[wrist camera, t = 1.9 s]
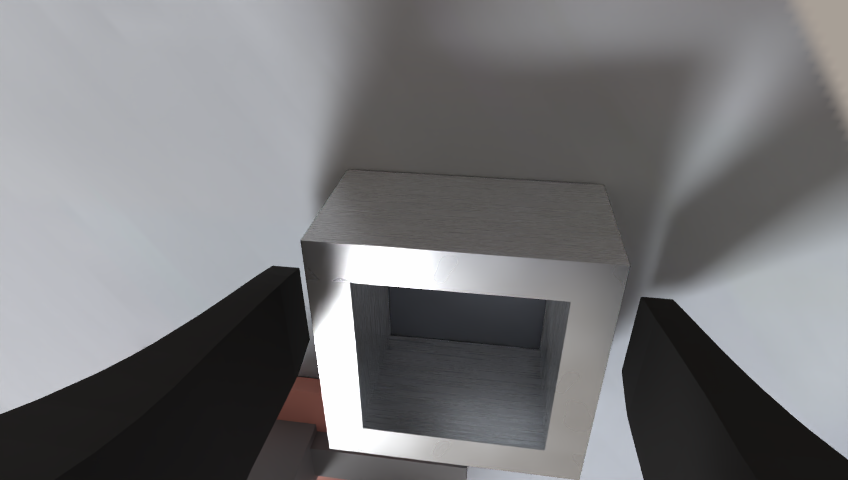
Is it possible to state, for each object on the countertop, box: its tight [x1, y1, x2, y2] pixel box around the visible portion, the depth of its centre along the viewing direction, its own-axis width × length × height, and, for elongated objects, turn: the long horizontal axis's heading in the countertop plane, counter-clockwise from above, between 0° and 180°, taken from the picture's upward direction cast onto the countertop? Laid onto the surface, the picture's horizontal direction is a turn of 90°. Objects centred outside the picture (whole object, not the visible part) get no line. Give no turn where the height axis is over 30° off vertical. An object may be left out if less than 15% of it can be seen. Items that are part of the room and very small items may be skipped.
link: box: [301, 170, 630, 480], centre depth 11 cm, size 5×5×3 cm
